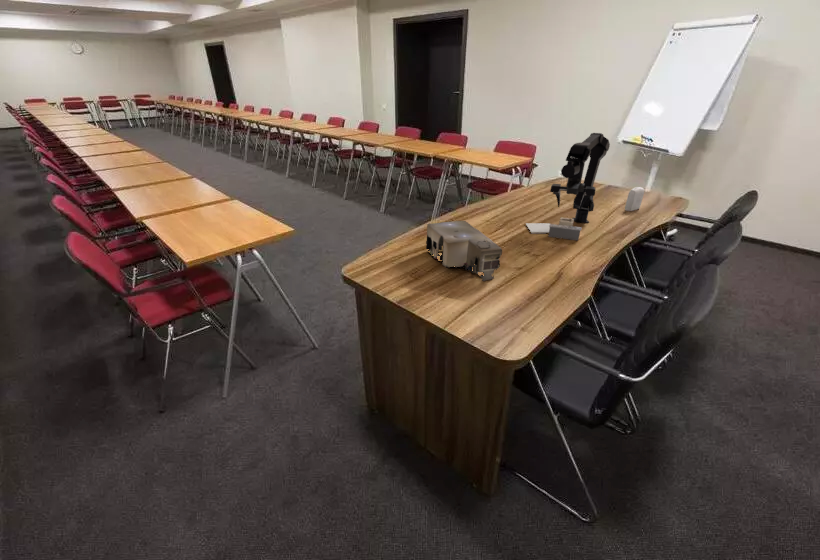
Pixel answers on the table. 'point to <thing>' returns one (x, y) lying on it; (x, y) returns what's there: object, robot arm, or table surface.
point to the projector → (463, 247)
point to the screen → (564, 231)
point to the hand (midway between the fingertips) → (569, 207)
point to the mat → (538, 227)
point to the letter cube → (566, 221)
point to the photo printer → (634, 199)
